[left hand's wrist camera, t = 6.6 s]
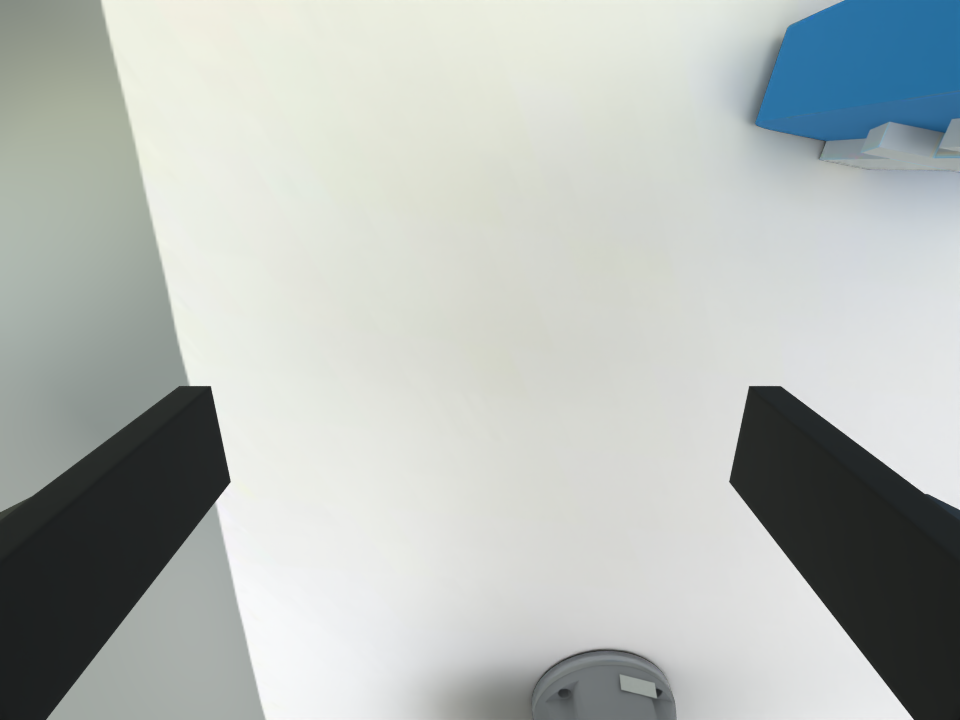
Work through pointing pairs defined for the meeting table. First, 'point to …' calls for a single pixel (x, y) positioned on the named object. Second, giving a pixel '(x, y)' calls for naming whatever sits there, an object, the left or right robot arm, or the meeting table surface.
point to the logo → (872, 84)
